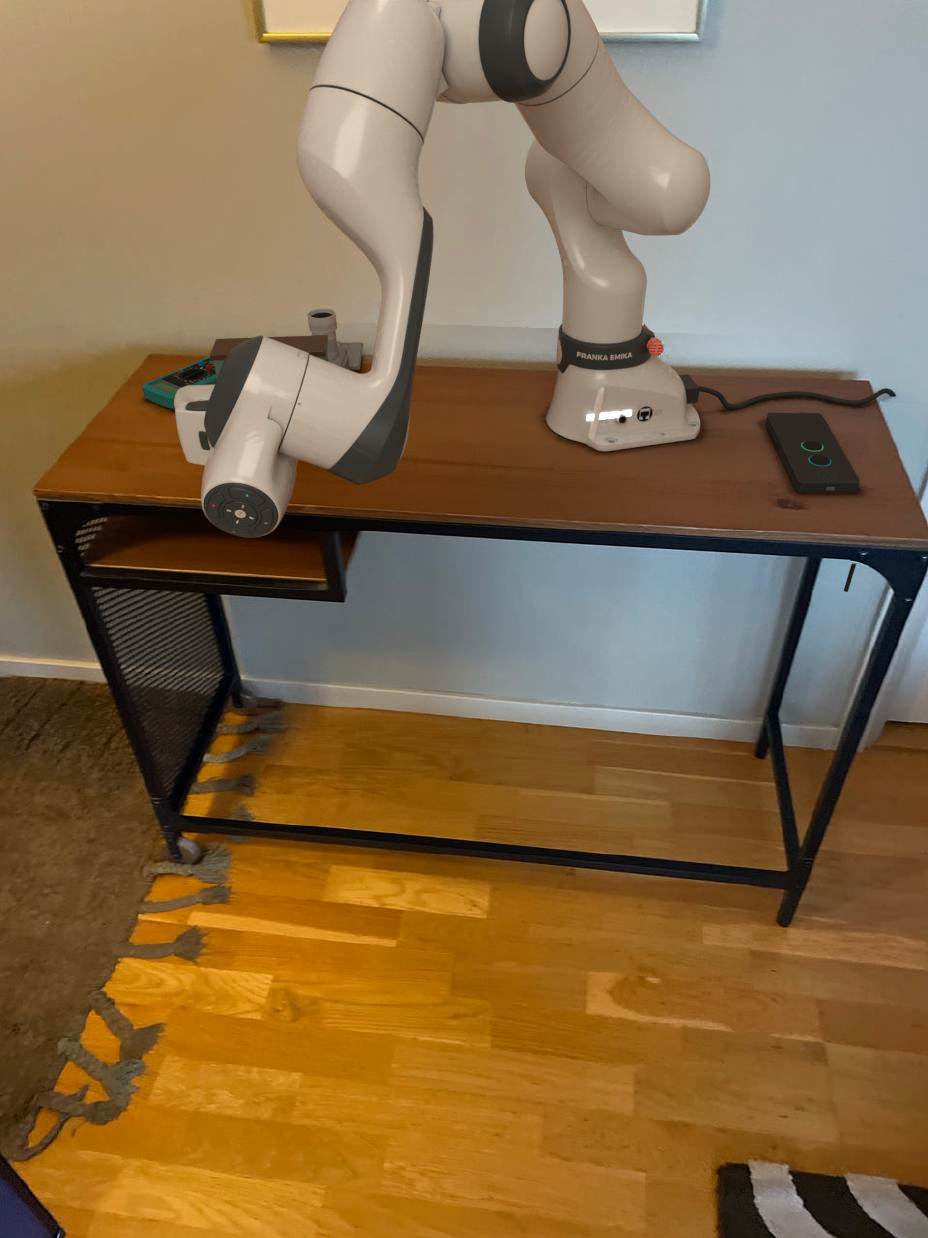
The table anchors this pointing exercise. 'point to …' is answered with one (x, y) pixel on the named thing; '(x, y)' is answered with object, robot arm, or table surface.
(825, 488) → the smart home device
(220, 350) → the console
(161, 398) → the digital multimeter
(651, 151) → the robot arm
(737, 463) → the table surface
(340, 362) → the camera
